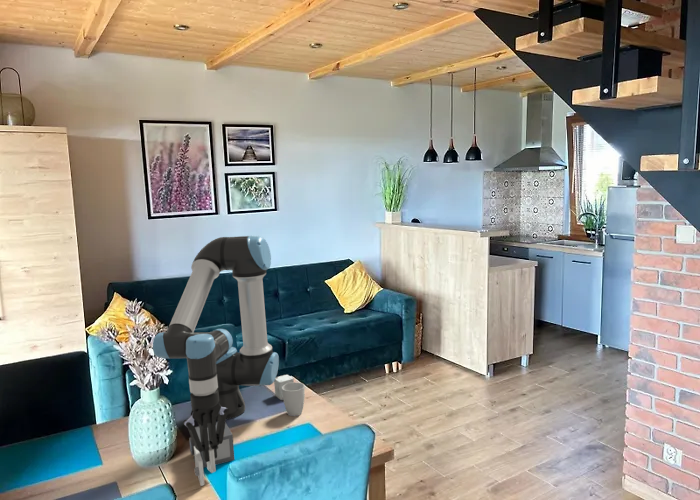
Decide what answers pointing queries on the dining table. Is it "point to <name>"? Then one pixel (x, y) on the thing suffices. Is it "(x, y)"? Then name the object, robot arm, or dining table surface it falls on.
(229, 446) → the grey boxy piece
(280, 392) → the skincare box
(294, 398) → the cup
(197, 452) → the side door
